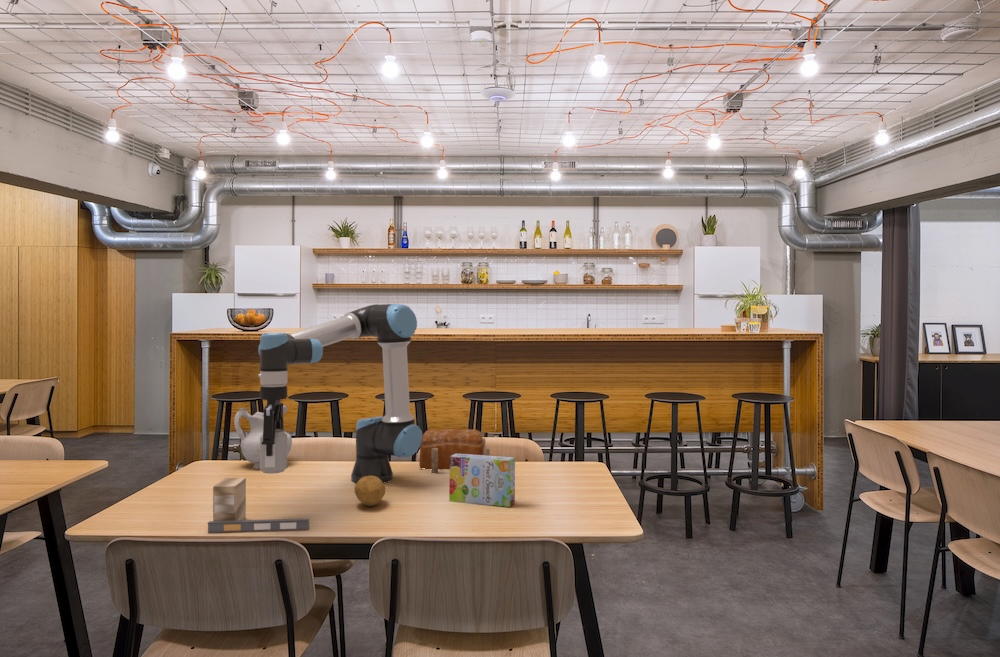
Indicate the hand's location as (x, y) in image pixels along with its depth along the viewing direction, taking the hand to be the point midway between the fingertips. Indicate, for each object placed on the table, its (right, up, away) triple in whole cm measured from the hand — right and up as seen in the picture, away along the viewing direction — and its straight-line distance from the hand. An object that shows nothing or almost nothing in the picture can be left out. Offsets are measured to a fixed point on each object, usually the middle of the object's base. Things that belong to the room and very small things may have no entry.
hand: (273, 463), depth 186 cm
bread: (+47, -17, +71) cm, 87 cm away
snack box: (+60, -17, +21) cm, 66 cm away
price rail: (-1, -17, -8) cm, 19 cm away
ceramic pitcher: (-29, -17, +69) cm, 77 cm away
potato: (+25, -17, +17) cm, 34 cm away
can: (0, -2, 0) cm, 2 cm away
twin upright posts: (+50, -17, +70) cm, 87 cm away
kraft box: (-12, -17, -2) cm, 21 cm away
